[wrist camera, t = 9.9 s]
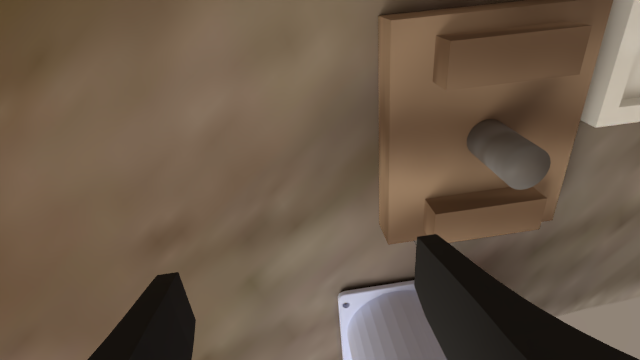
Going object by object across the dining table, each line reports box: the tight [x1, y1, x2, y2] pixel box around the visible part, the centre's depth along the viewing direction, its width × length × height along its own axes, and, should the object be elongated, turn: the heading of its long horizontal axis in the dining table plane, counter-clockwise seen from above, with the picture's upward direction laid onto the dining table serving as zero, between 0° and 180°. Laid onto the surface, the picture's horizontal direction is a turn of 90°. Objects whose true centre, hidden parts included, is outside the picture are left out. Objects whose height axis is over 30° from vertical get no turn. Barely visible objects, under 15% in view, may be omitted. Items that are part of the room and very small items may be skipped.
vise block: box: [378, 0, 613, 245], centre depth 19 cm, size 13×10×6 cm
